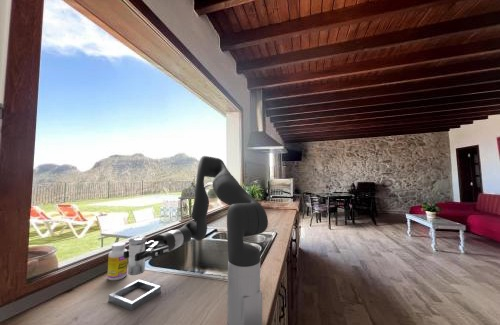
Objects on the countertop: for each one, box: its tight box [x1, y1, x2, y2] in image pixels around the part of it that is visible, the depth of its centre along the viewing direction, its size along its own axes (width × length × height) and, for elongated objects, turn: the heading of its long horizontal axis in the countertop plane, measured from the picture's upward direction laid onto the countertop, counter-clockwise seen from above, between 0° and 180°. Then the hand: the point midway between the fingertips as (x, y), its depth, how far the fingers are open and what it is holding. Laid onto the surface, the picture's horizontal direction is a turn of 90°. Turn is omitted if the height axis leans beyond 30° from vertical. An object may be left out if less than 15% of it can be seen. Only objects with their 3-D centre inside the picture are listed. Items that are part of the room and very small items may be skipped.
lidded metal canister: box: [127, 236, 147, 276], centre depth 72 cm, size 5×5×11 cm
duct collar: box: [108, 279, 162, 311], centre depth 71 cm, size 11×11×2 cm
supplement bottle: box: [106, 241, 129, 281], centre depth 84 cm, size 7×7×13 cm
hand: (130, 256), depth 69 cm, fingers closed on lidded metal canister, 5 cm apart
